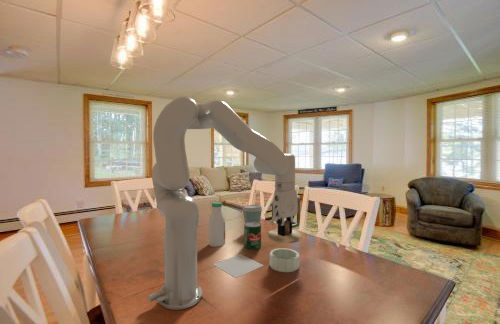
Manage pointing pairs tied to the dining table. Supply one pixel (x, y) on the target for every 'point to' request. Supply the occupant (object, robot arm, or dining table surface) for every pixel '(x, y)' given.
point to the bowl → (284, 260)
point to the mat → (238, 265)
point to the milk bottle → (216, 226)
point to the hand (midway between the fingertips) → (284, 233)
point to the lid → (288, 237)
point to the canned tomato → (252, 235)
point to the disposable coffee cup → (252, 213)
